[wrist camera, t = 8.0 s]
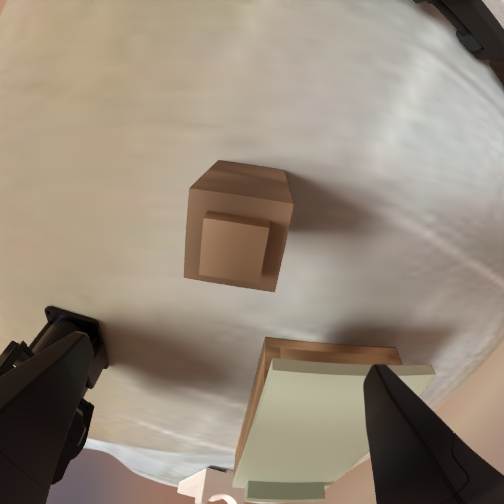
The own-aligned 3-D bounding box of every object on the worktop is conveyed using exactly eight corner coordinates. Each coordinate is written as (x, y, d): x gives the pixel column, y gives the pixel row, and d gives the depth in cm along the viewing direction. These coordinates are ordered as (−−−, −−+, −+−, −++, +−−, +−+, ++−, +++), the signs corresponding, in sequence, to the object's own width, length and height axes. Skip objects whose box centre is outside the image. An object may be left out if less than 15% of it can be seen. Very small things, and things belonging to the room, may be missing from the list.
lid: (232, 480, 28) (230, 503, 25) (272, 357, 17) (272, 402, 14) (324, 483, 28) (325, 504, 25) (431, 364, 17) (447, 399, 14)
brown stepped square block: (211, 221, 19) (179, 287, 12) (218, 160, 17) (183, 193, 10) (272, 230, 19) (274, 302, 12) (284, 170, 17) (295, 210, 10)
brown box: (236, 448, 33) (233, 480, 28) (265, 337, 23) (263, 385, 19) (327, 453, 33) (329, 482, 29) (402, 348, 23) (420, 388, 19)
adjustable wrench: (496, 128, 18) (262, -59, 10) (504, 107, 17) (280, -80, 9) (563, 157, 11) (298, -126, 3) (571, 132, 10) (320, -143, 2)
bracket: (207, 462, 37) (201, 502, 30) (246, 473, 38) (243, 511, 31) (180, 477, 42) (173, 509, 35) (214, 487, 43) (209, 518, 36)
